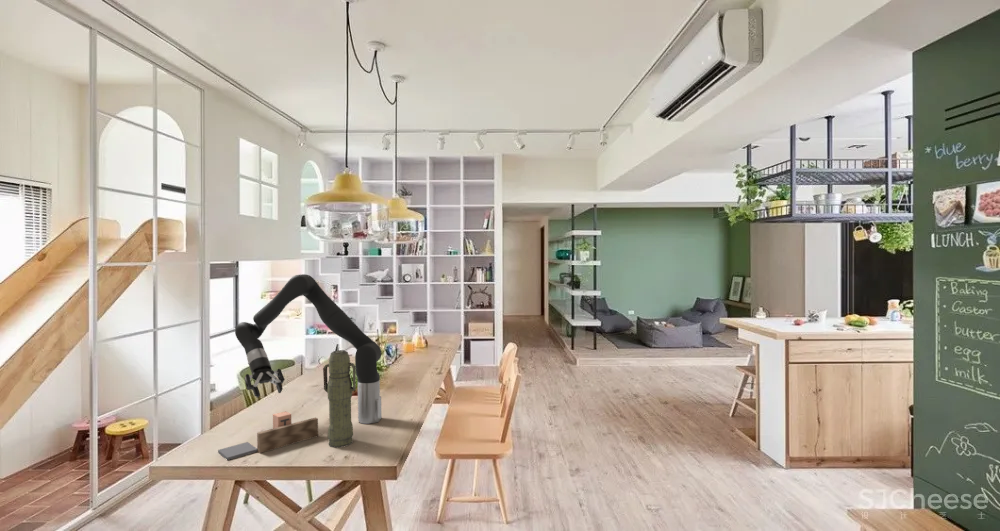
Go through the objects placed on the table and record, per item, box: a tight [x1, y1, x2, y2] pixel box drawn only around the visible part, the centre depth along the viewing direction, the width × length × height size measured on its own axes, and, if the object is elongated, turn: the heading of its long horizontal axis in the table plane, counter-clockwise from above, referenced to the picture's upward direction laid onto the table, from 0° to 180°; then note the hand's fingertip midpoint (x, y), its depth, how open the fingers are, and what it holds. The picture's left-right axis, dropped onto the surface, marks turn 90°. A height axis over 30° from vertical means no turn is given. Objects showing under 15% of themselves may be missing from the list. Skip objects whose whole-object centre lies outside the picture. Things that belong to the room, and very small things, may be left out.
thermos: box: [322, 349, 357, 448], centre depth 180 cm, size 9×12×35 cm
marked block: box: [272, 411, 292, 429], centre depth 184 cm, size 5×5×10 cm
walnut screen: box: [256, 416, 319, 454], centre depth 180 cm, size 22×2×7 cm, turn 137°
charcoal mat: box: [217, 441, 259, 461], centre depth 173 cm, size 10×10×1 cm
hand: (269, 394), depth 192 cm, fingers open, 8 cm apart
